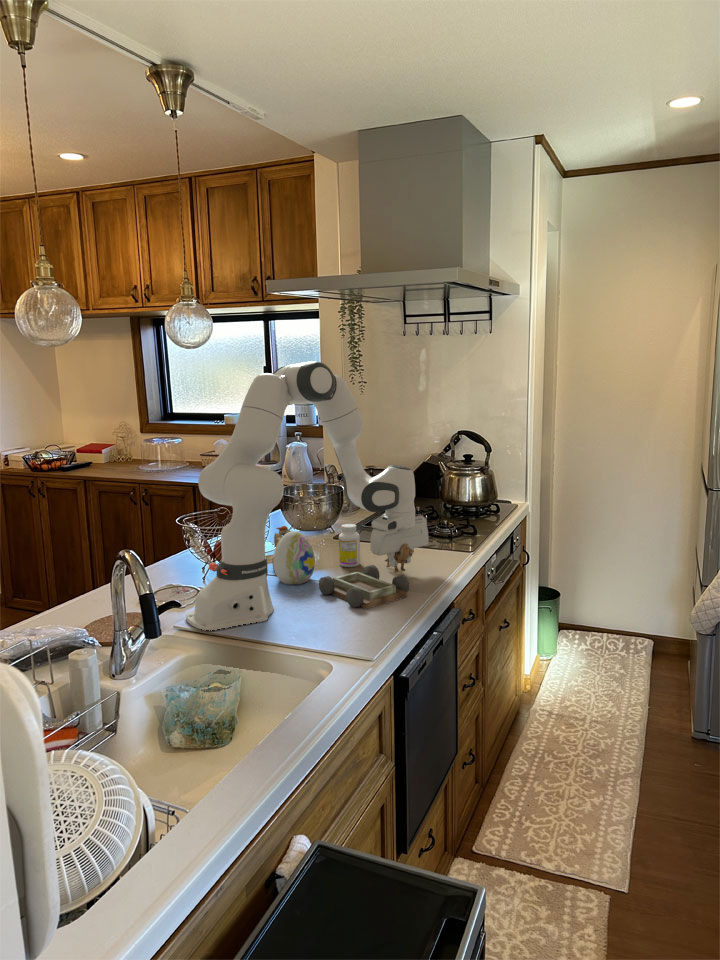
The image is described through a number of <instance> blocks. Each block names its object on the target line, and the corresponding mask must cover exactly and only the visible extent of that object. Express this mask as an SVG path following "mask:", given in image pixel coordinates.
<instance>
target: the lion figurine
mask: <svg viewBox="0 0 720 960" xmlns="http://www.w3.org/2000/svg"><path fill="white" fill-rule="evenodd" d="M414 553H415V550H414V551H413V550H412V549H410V548H409V547H408V544H403V545H402V546H401V547H400V550H399V552H395V556H393V557H394V559H395V560H396V561H397V566H395V567H393V568H394V571H393V573H399V568H398V564H400V565H401V566H400V571H401V572H406V569H405V564H406V563H405V562H406V560H407V559H408V558H409V556H410V557H411V558H412V557H413V554H414ZM384 562H387V563H386V568H390V567H391V566H390V560H389V558H388V557H387V558H385V560H384Z"/></svg>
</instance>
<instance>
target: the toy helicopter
mask: <svg viewBox="0 0 720 960" xmlns="http://www.w3.org/2000/svg"><path fill="white" fill-rule="evenodd" d="M275 529H276V530H278V532H276V533H274V537H273V540H274V541H273V542H274V544H273V545H274V547H275V548H276V546H277V544H278V542H279V541H280V539H281V538H282V537H283V536H284V535H285V534H286V533H288V532H291V530H290V529H289V528H288V527H287V526H286V525H282V526H281V527H276V528H275ZM273 557H274V555H273ZM273 557H272V558H273ZM272 569H273V571H274V572H275V570H274V565H273V564H272Z"/></svg>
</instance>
